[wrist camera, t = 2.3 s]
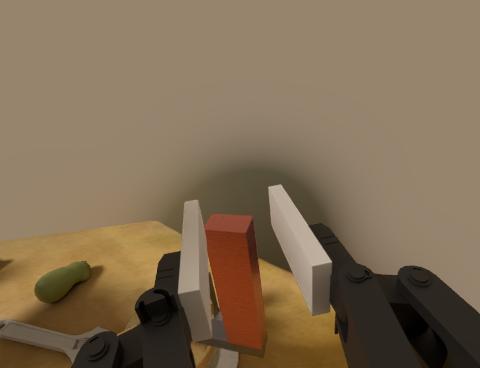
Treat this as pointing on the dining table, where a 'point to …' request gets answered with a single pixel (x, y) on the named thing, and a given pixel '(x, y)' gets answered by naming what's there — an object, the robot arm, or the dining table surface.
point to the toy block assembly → (231, 291)
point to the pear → (61, 281)
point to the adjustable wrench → (46, 337)
